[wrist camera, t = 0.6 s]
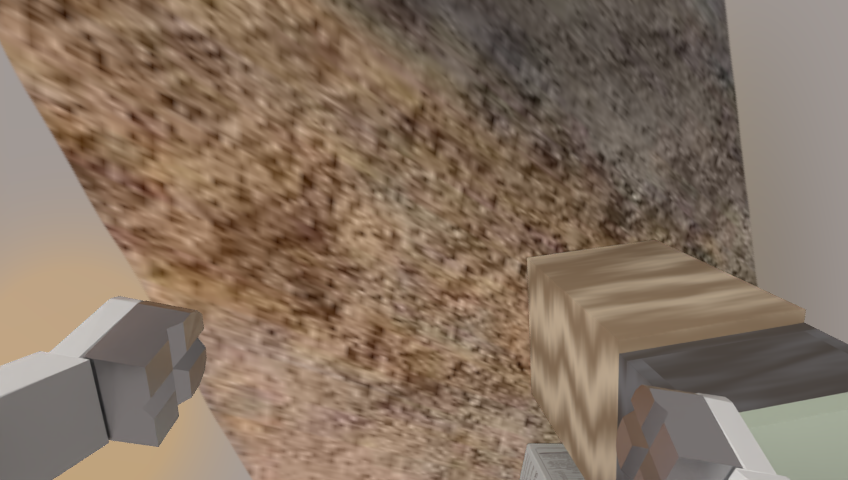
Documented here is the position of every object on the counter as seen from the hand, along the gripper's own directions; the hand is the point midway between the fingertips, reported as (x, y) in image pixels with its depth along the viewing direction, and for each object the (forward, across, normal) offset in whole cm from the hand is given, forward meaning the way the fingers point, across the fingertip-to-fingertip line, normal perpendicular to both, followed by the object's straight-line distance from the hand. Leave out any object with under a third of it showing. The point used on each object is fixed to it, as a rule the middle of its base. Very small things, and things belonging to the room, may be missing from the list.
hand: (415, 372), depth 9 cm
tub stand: (+38, -19, +24) cm, 48 cm away
